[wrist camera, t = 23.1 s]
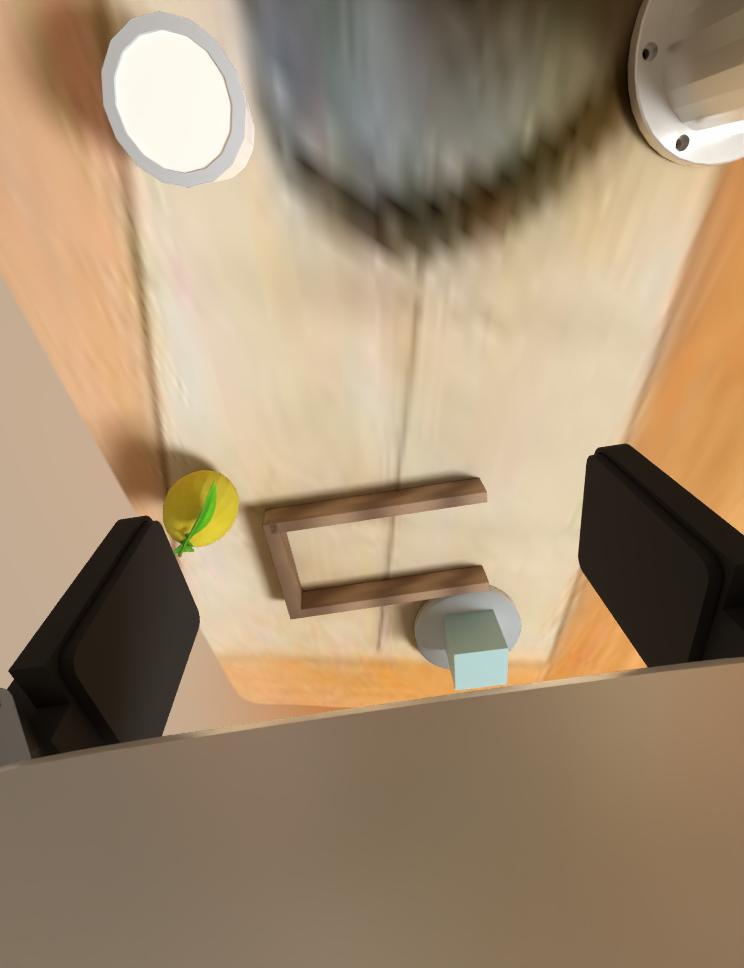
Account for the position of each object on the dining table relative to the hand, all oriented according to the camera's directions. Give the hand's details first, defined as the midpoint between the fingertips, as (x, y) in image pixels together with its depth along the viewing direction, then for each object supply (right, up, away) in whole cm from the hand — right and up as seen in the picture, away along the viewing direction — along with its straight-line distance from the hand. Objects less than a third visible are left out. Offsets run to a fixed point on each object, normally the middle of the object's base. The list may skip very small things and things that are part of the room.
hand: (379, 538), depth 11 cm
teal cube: (+10, -14, +39) cm, 43 cm away
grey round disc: (+10, -14, +41) cm, 44 cm away
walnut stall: (+1, -4, +35) cm, 35 cm away
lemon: (-14, +1, +31) cm, 34 cm away
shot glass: (-10, +23, +19) cm, 32 cm away
